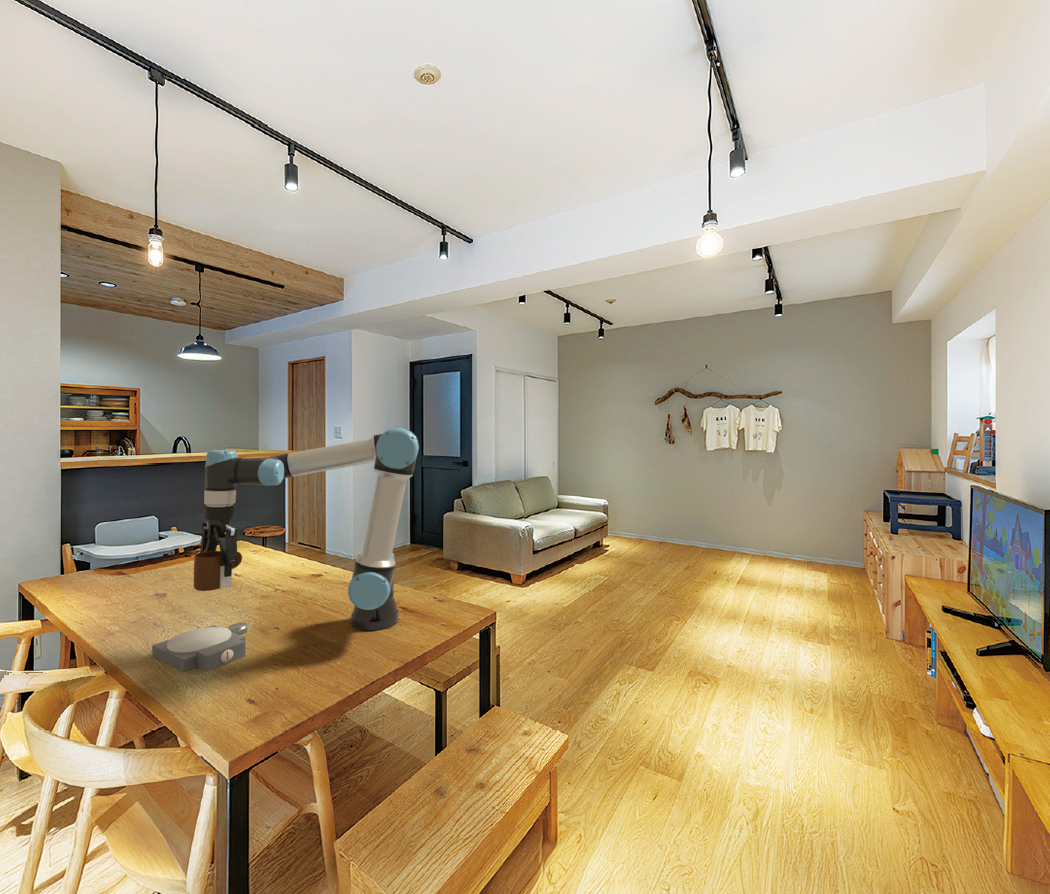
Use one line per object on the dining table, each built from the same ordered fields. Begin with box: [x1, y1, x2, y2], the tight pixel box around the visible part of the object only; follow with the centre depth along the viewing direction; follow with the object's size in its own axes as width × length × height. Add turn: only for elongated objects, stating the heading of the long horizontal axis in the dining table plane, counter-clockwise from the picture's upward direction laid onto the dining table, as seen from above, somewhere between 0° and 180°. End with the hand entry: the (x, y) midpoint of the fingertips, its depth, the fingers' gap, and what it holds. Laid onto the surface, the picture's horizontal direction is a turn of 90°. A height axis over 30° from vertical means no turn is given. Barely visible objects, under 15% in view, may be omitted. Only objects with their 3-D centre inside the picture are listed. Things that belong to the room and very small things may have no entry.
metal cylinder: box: [227, 622, 248, 636], centre depth 148 cm, size 5×5×2 cm
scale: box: [151, 624, 247, 672], centre depth 133 cm, size 21×16×4 cm
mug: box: [193, 550, 243, 592], centre depth 136 cm, size 12×8×9 cm, turn 142°
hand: (217, 584), depth 137 cm, fingers closed on mug, 7 cm apart
